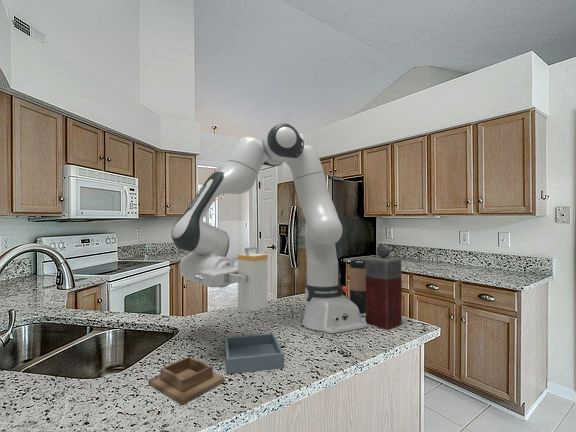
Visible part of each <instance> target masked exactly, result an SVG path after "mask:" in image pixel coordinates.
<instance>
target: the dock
mask: <svg viewBox="0 0 576 432" xmlns="http://www.w3.org/2000/svg"><path fill="white" fill-rule="evenodd" d="M213 368H214V366H212V365H210V364H208V363H206V362H203V361H201V360H199V359H197V358H195V357H192V356H187V357H185V358H183V359H180V360H178V361H176V362H173V363H171V364H168V365H166V366H164V367H161V368H160V374H158V375H155V376H154V377H152V378H149V379H148V380H147V381H148V385H149V386H151V387H152V388H154V389H155V390H157V391H159V392H160V393H162V394H164V395H165V396H166V397H168V398H170V399H172V400H173V401H175V402H176V403H178V404H180V405H182V406H183V405H185V404H188V403H189V402H190V401H193V400H194V399H196V398H198V397H200V396H202V395H204V394H206V393H207V392H209V391H211V390H213V389H215V388H216V387H218V386H220V385H221V384H224V383H225V382H226V381H225V377H224V376H223V375H220V374H218V373H216V372H214V371H213V370H214V369H213Z"/></svg>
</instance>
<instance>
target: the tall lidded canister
mask: <svg viewBox="0 0 576 432" xmlns="http://www.w3.org/2000/svg"><path fill="white" fill-rule="evenodd" d="M253 250H255V252H250V251H253ZM237 258H238V275H248V282H245V283H241V282H237V307H238V308H241V309H245V310H249V311H253V312H255V311H257V310H258V311H259V310H261V309H264V308H266V307H268V254H266V253H260V246H250V247H245V253H240V254H237Z"/></svg>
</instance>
